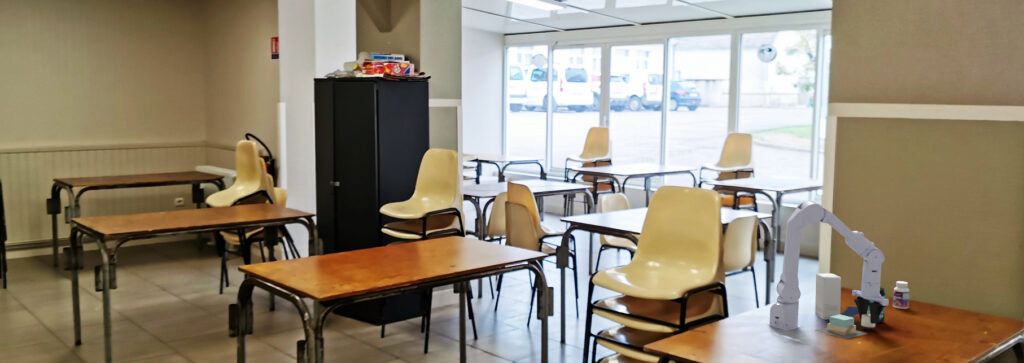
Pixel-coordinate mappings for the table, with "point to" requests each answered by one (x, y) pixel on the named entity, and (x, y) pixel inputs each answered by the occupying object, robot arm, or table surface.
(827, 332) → the mat
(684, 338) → the table surface
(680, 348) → the table surface
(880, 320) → the beverage can
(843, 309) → the table surface
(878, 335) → the table surface
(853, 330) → the bottom block
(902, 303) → the pill bottle
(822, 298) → the skincare box
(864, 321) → the white short cylinder
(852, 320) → the top block
